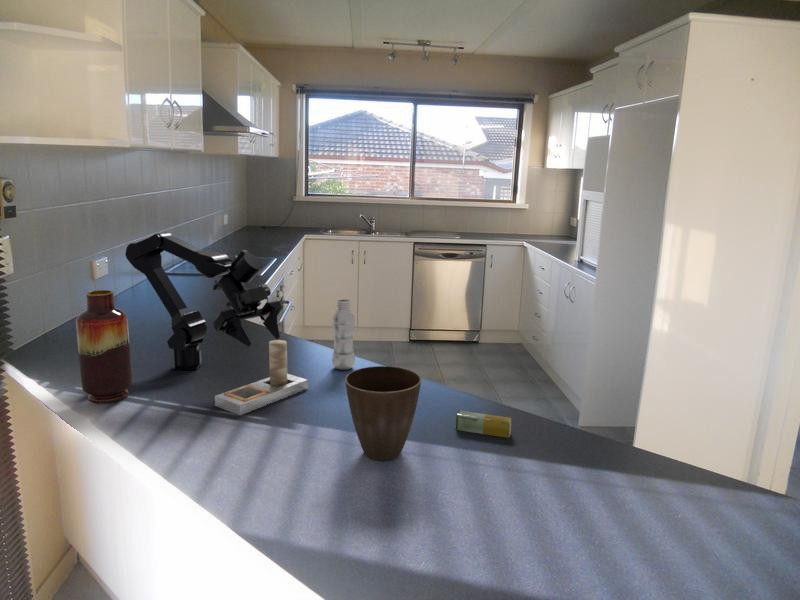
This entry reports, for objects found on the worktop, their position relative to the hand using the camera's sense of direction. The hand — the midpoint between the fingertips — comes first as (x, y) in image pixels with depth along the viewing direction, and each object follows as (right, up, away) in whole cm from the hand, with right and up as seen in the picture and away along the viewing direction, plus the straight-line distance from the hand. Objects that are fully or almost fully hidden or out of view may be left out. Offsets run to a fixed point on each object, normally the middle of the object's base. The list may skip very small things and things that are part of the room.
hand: (264, 341), depth 154 cm
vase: (-37, -13, -7) cm, 40 cm away
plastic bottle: (+19, -9, +18) cm, 27 cm away
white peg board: (+1, -13, -5) cm, 14 cm away
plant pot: (+31, -20, -33) cm, 50 cm away
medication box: (+53, -19, -21) cm, 60 cm away
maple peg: (+4, -13, -1) cm, 13 cm away
